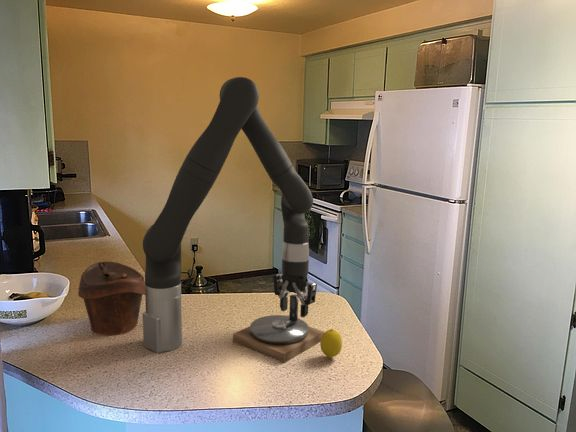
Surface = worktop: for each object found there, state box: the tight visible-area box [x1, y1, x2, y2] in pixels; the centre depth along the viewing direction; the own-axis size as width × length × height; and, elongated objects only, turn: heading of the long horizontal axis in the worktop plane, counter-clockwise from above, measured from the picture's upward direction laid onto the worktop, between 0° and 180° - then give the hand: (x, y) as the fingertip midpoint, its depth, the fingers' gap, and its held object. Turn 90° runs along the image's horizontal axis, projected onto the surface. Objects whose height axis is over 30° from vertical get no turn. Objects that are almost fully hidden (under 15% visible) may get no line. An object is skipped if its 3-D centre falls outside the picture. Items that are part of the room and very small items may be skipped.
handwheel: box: [249, 294, 309, 344], centre depth 133 cm, size 16×16×9 cm
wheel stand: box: [232, 325, 325, 364], centre depth 134 cm, size 18×18×3 cm
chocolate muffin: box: [77, 261, 145, 336], centre depth 139 cm, size 18×20×18 cm
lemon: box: [319, 328, 343, 359], centre depth 125 cm, size 6×6×8 cm
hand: (293, 313), depth 138 cm, fingers open, 6 cm apart
